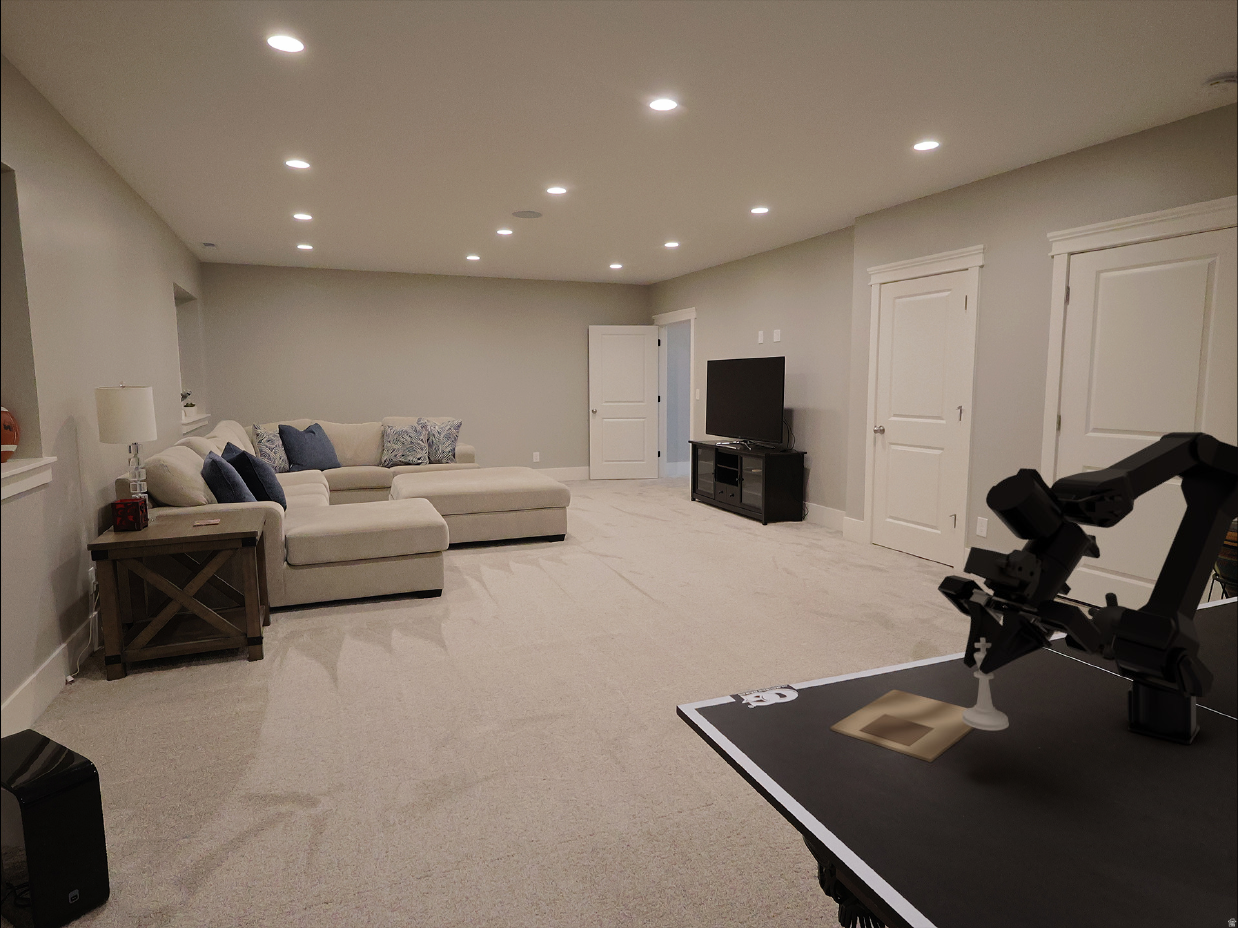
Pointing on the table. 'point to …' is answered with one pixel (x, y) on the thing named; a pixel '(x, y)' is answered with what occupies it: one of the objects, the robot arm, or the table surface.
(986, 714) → the chess piece
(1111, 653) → the knobbed dark ball
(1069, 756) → the table surface
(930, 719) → the board
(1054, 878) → the table surface
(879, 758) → the table surface
